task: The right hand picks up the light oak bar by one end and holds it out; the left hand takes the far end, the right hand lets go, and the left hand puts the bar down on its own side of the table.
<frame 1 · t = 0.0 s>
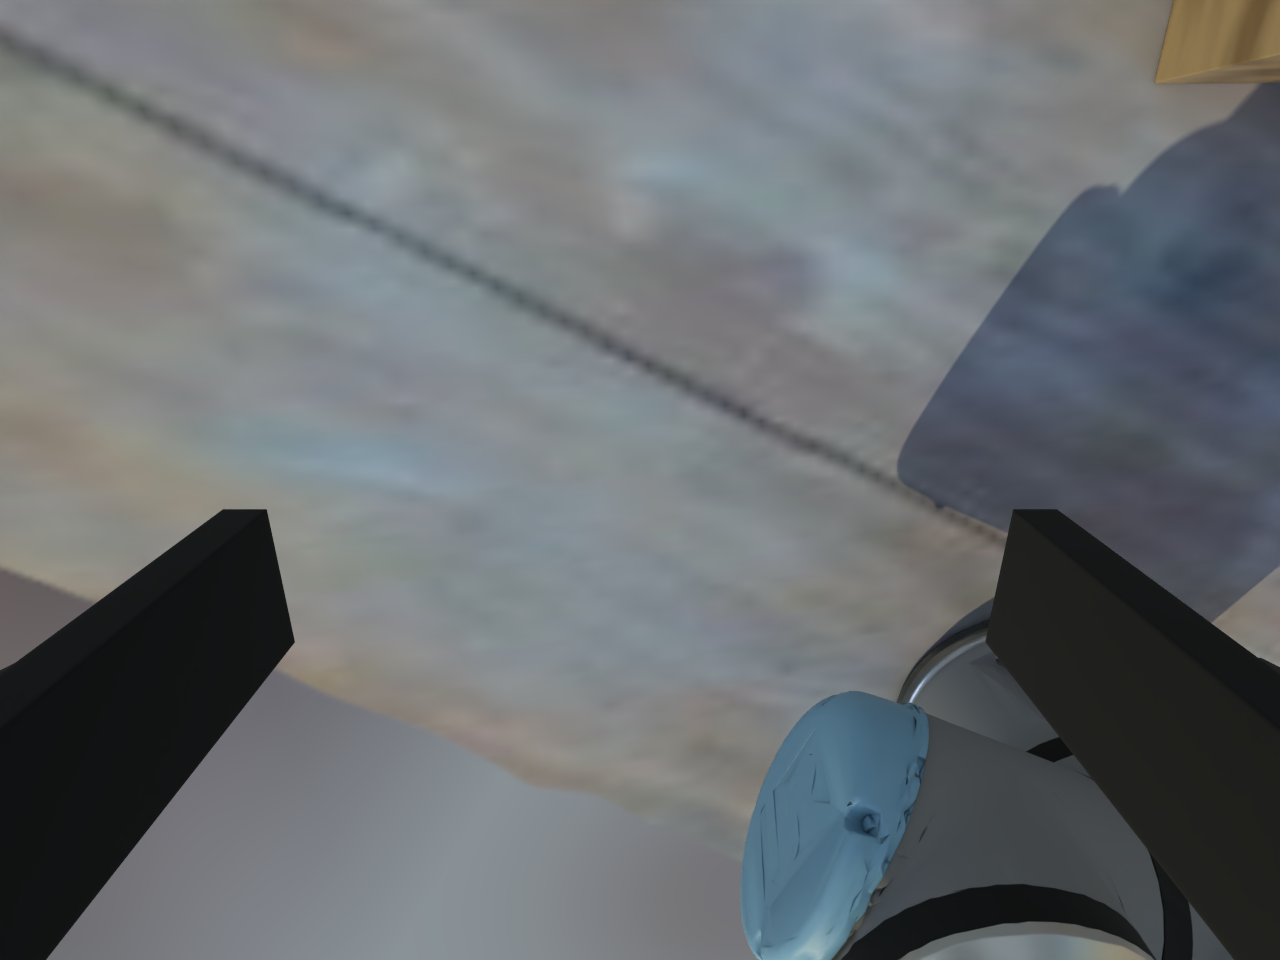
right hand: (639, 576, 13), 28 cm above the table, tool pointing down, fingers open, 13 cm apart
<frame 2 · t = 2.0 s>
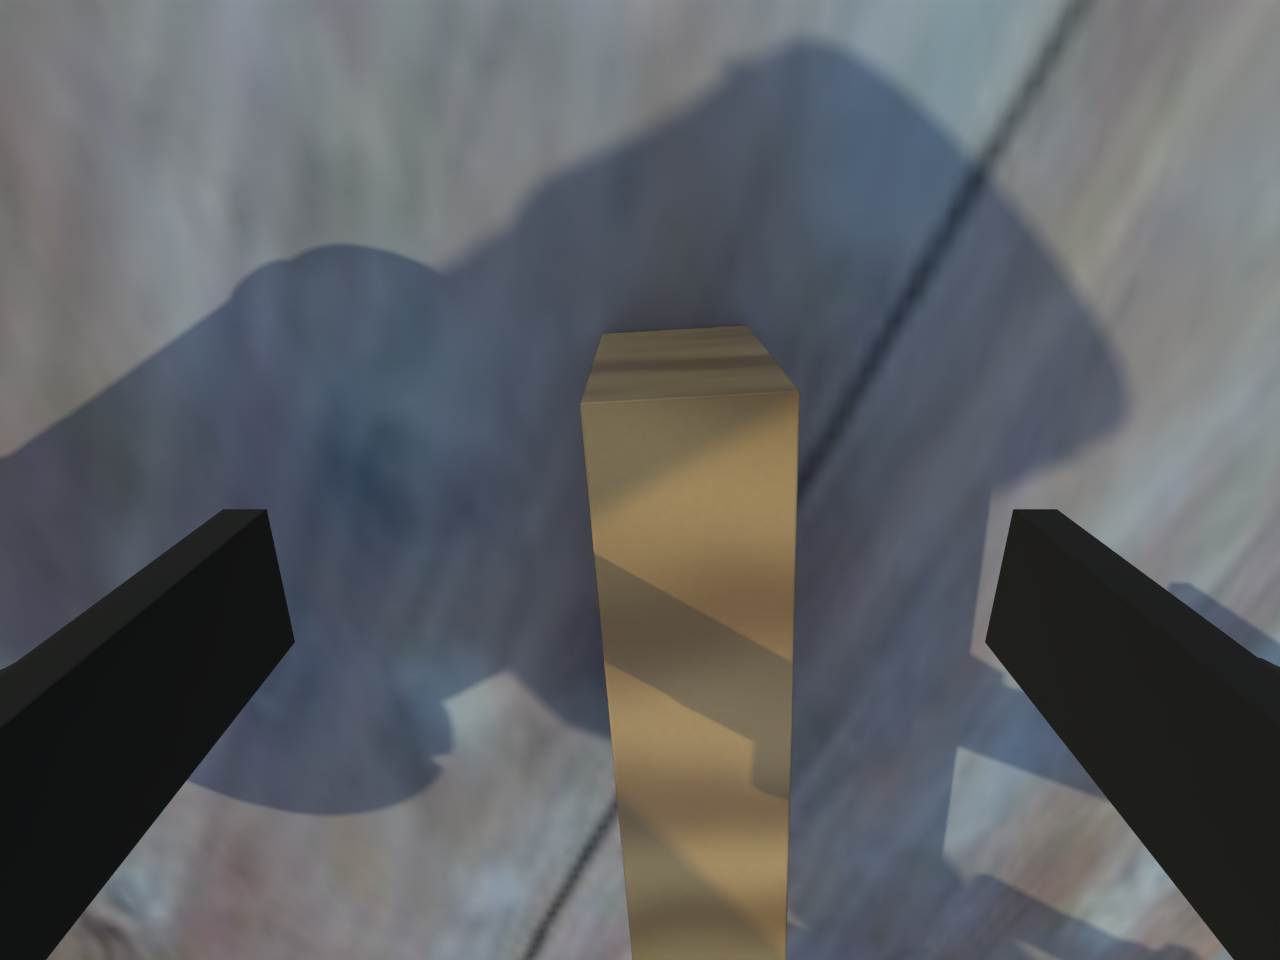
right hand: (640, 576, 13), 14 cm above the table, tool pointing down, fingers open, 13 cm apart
bar: (685, 597, 29), on the table
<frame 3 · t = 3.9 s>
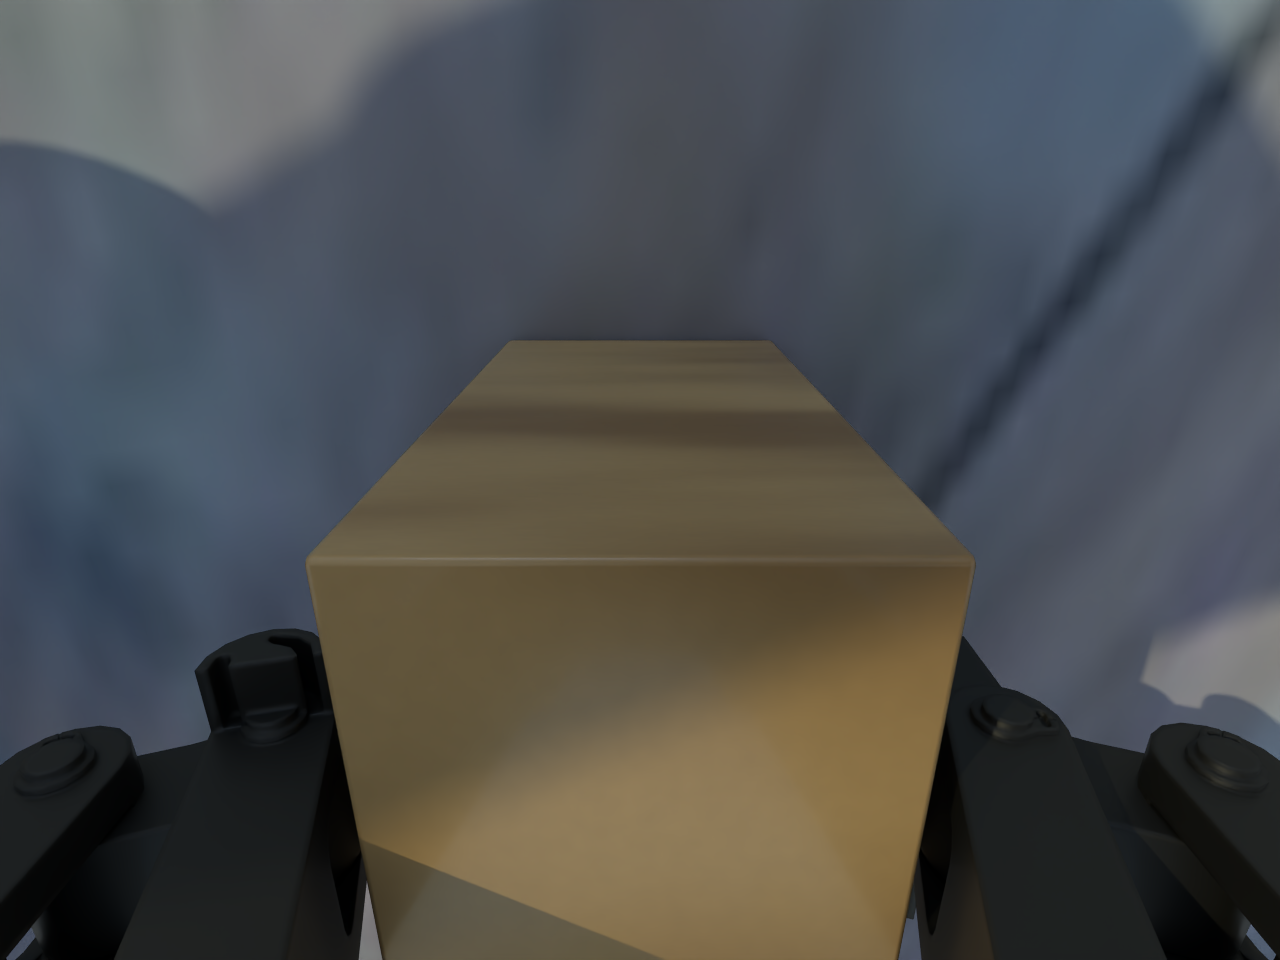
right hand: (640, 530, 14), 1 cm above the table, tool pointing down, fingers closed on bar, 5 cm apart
bar: (640, 774, 18), on the table, touching right hand
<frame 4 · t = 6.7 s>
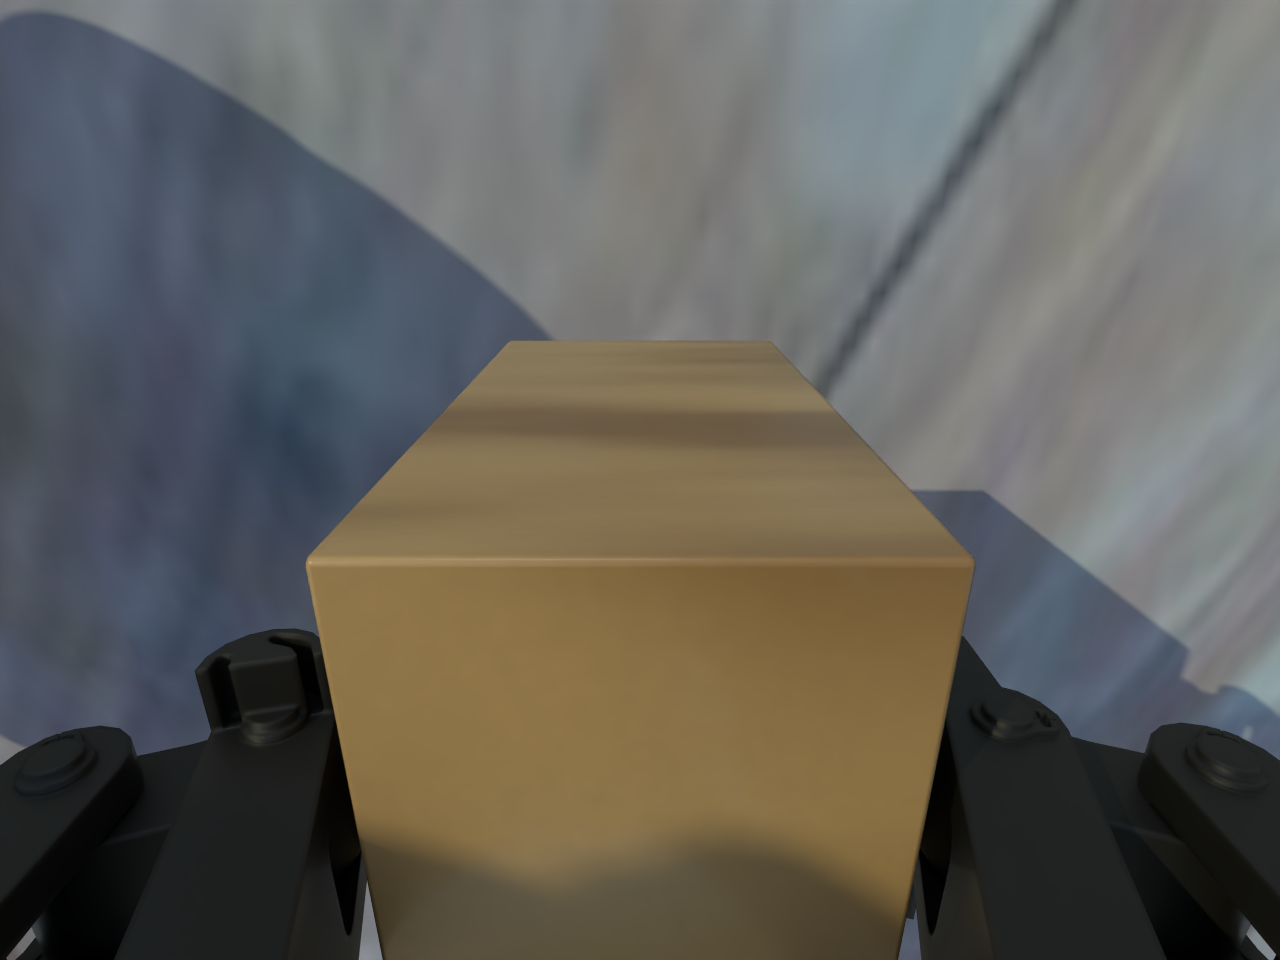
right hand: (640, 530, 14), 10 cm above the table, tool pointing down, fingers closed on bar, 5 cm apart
bar: (640, 774, 18), point 9 cm above the table, touching right hand
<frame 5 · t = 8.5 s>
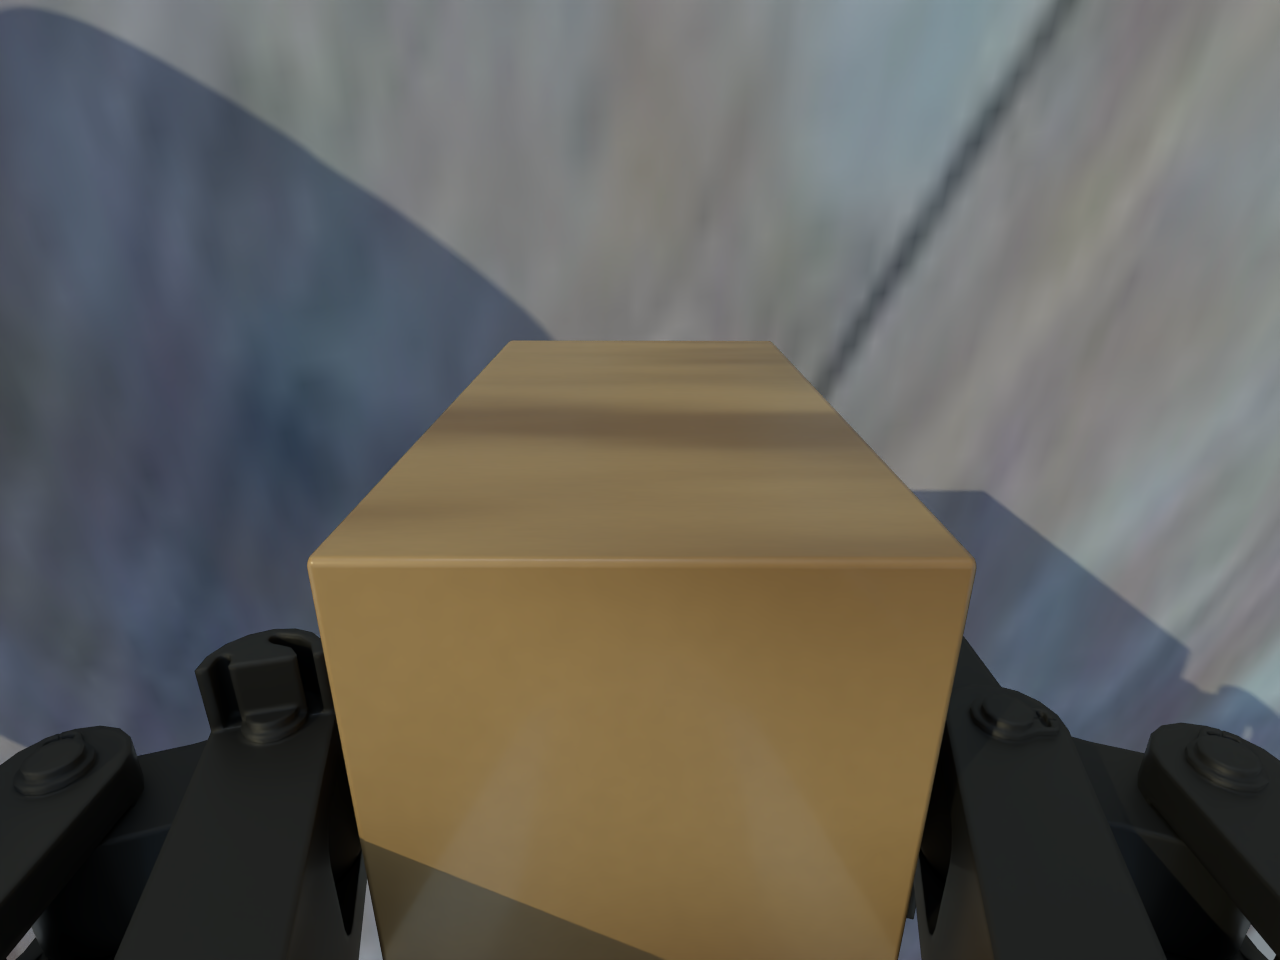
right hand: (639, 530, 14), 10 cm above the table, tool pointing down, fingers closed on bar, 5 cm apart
bar: (639, 774, 18), point 9 cm above the table, touching right hand, left hand
when the right hand's fingers open (10 cm above the table, at t = 9.3 s): bar stays where it is, held by the left hand.
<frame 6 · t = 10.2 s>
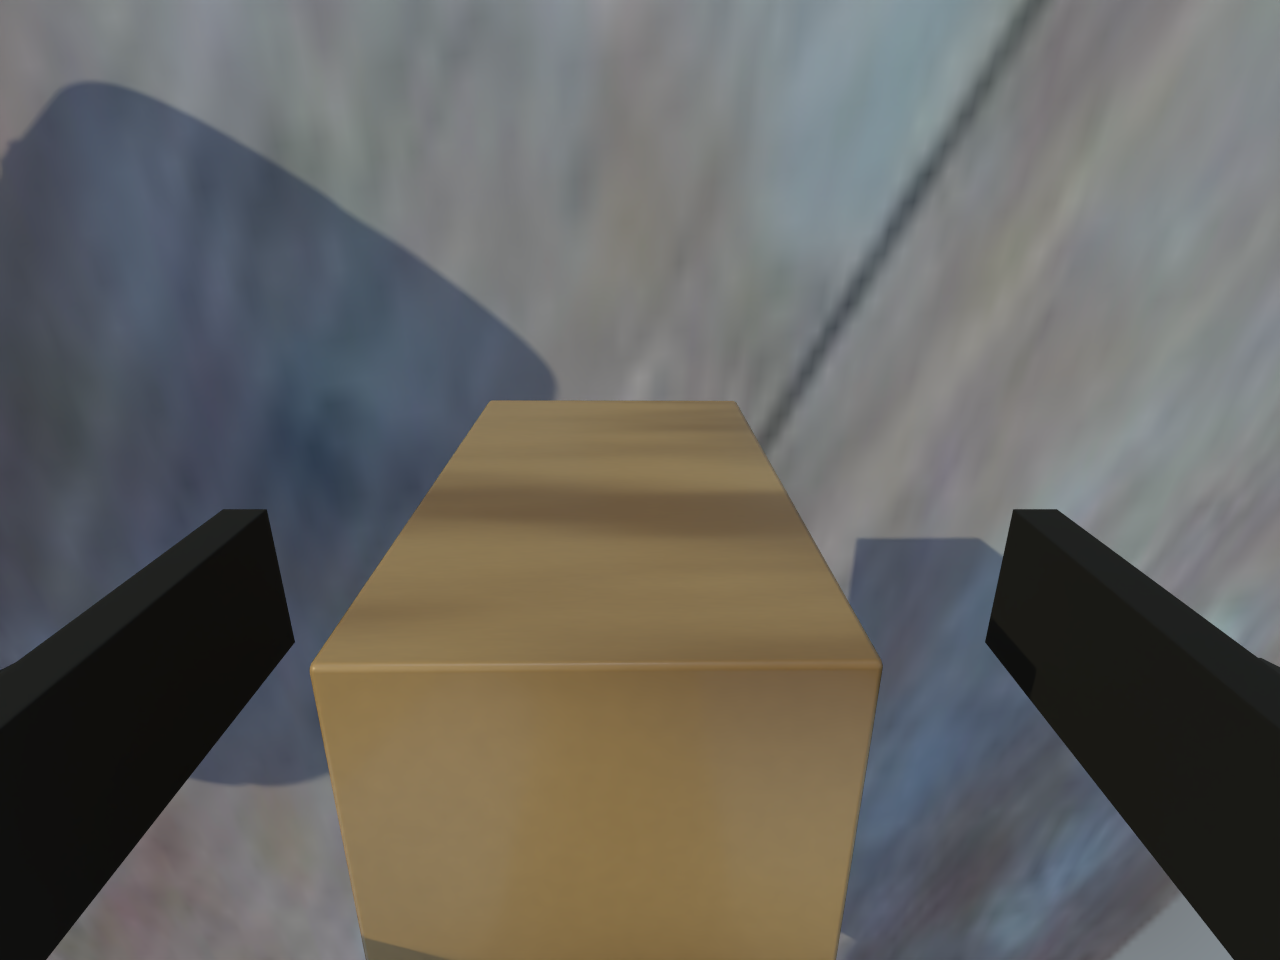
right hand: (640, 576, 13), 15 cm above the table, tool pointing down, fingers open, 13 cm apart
bar: (615, 800, 18), point 12 cm above the table, touching left hand
when the left hand's fingers open (2 cm above the table, at t = 13.6 s): bar drops 2 cm, on the table.
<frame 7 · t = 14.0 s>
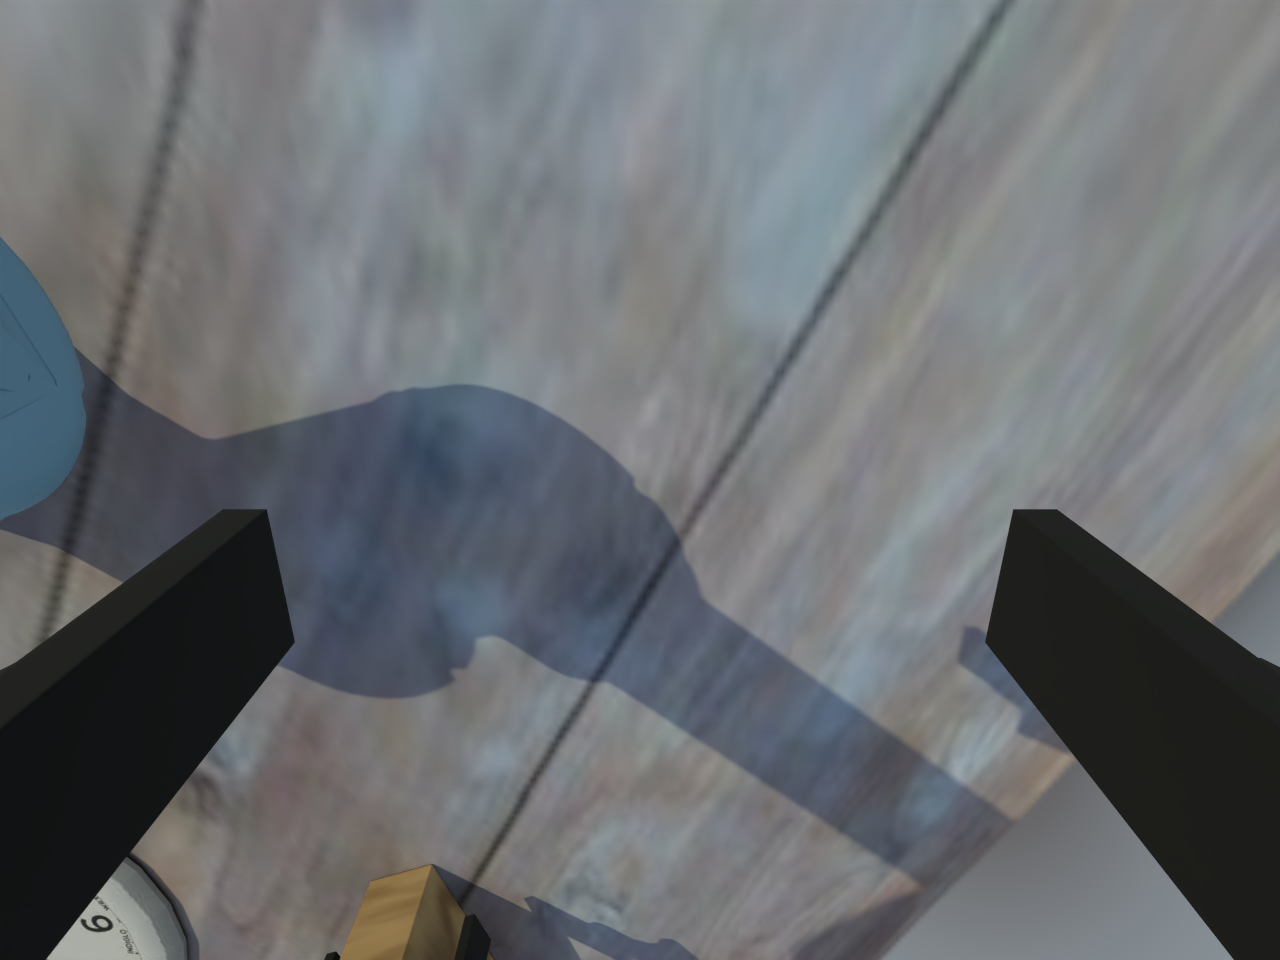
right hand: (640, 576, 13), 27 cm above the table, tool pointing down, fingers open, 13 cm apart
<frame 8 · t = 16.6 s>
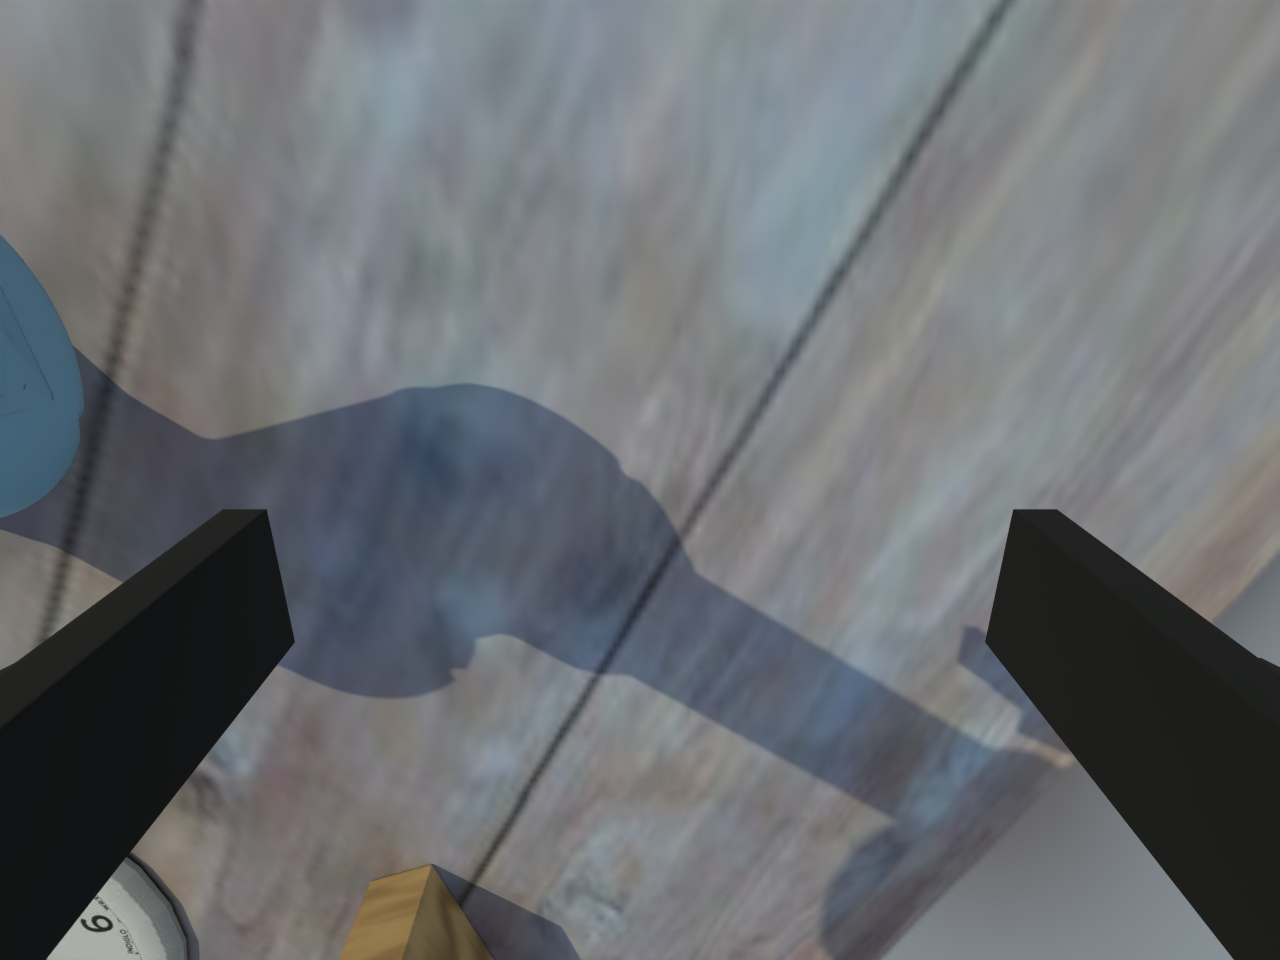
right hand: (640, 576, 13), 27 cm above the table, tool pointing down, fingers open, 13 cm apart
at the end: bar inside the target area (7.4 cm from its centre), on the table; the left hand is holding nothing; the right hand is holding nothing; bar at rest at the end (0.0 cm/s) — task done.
